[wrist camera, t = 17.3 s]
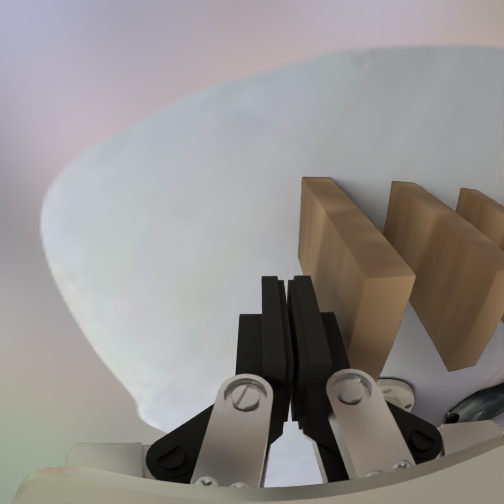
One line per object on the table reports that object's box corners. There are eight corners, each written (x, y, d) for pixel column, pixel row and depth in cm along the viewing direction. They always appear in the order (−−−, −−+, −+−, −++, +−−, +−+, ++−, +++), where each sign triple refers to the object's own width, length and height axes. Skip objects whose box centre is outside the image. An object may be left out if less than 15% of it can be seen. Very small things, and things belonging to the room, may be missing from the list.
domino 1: (330, 177, 16) (416, 275, 8) (323, 255, 19) (375, 385, 10) (302, 177, 16) (366, 278, 8) (297, 256, 19) (335, 391, 10)
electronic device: (522, 358, 29) (456, 399, 28) (538, 384, 25) (473, 433, 24) (496, 389, 35) (432, 426, 34) (509, 412, 30) (444, 454, 29)
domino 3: (476, 189, 16) (577, 264, 7) (460, 253, 19) (538, 344, 10) (460, 187, 16) (565, 266, 7) (444, 254, 19) (522, 350, 10)
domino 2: (414, 182, 16) (522, 269, 8) (400, 254, 19) (474, 365, 10) (391, 180, 16) (497, 271, 8) (379, 254, 19) (448, 372, 10)
